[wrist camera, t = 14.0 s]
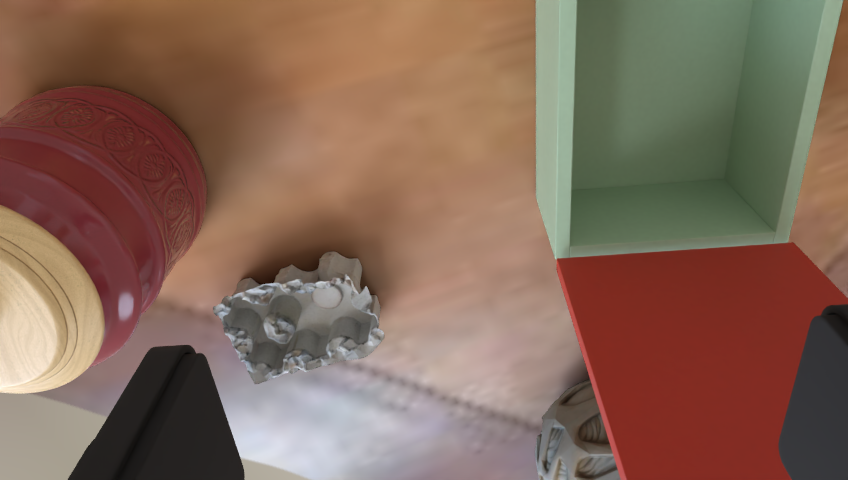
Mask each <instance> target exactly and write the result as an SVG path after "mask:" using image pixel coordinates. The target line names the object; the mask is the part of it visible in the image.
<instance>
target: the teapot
mask: <svg viewBox="0 0 848 480" xmlns="http://www.w3.org/2000/svg"><path fill="white" fill-rule="evenodd" d="M542 419H543V430H542V431H541V434H540V435H538V436H537V441H536V449H535V458H536V465H537V472H538V476H539V480H621V478H620V475H619V472H618V469H617V465H616V462H615V459H614V456H613V452H612V449H611V446H610V442H609V439H608V436H607V433H606V429H605V426H604V423H603V420H602V416H601V413H600V410H599V407H598V403H597V400H596V397H595V393H594V390H593V387H592V384H591V380H590V379H589V380H587V381H584V382H581V383H579V384H577V385H575V386H574V387H572V388H570V389H568V390H566V391H565V392H564V393H563V394H562V396H561V397H560V398H559V399H557V400H556V401H555V402H554V403H553V404H552V406H551V407H550V408H549V409H548V411H547V412H546V413H545V415H544V416H543V417H542Z"/></svg>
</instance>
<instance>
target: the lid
mask: <svg viewBox="0 0 848 480" xmlns="http://www.w3.org/2000/svg"><path fill="white" fill-rule="evenodd" d="M557 273H558V276H559V279H560V282H561V286H562V289H563V292H564V296H565V299H566V302H567V305H568V309H569V312H570V315H571V318H572V322H573V325H574V328H575V331H576V335H577V338H578V341H579V345H580V348H581V351H582V354H583V358H584V361H585V364H586V367H587V371H588V374H589V377H590V380H591V384H592V387H593V390H594V393H595V397H596V400H597V403H598V407H599V410H600V413H601V416H602V420H603V423H604V426H605V429H606V433H607V436H608V439H609V442H610V446H611V449H612V452H613V456H614V459H615V462H616V465H617V469H618V472H619V475H620V478H621V480H792V479H791V477H790V476H789V474H788V472H787V471H786V469H785V467H784V465H783V463H782V461H781V458H780V454H779V447H778V443H779V438H780V434H781V430H782V427H783V423H784V419H785V415H786V412H787V408H788V404H789V401H790V397H791V393H792V389H793V386H794V382H795V378H796V375H797V371H798V367H799V363H800V360H801V356H802V352H803V349H804V345H805V341H806V337H807V334H808V330H809V326H810V323H811V321H812V319H813V318H814V317H815V316H820V315H821V314H822V311H823V310H824V309H825V308H826V307H827V306H830V305H841V304H848V298H847V297H846V296H845V295H844V294H843V293H842V292H841V291H840V290H839V289H838V288H837V287H836V286H835V285H834V284H833V283H832V282H831V281H830V280H829V279H828V278H827V277H826V276H825V275H824V274H823V273H822V271H821V270H820V269H819V268H818V267H817V266H816V265H815V264H814V263H813V262H812V261H811V260H810V259H809V258H808V257H807V256H806V255H805V254H804V253H803V252H802V251H801V250H800V249H799V248H798V247H797V246H796V245H795V244H794V243H793V242H792V243H777V244H762V245H747V246H733V247H718V248H703V249H688V250H673V251H659V252H644V253H629V254H614V255H600V256H585V257H570V258H557Z"/></svg>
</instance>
